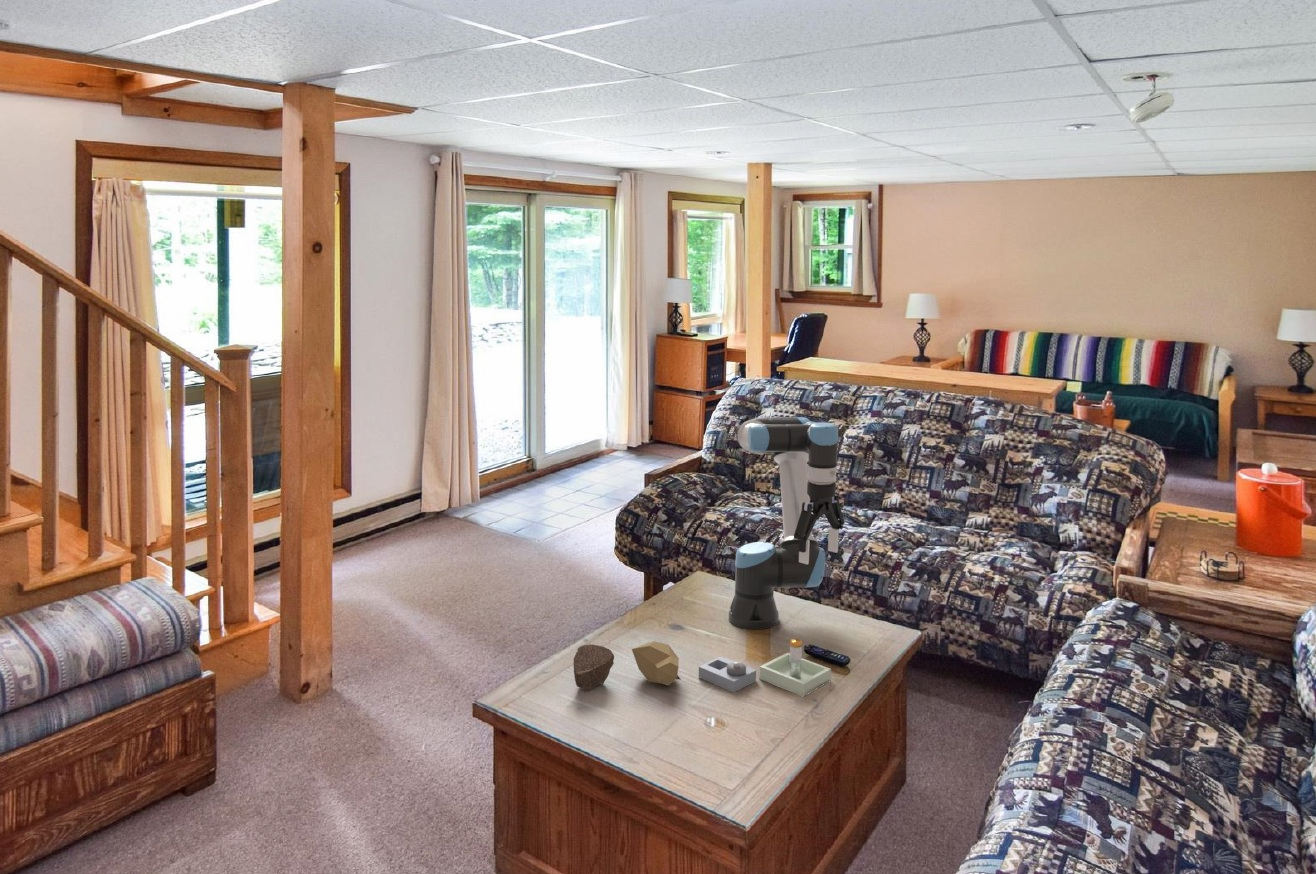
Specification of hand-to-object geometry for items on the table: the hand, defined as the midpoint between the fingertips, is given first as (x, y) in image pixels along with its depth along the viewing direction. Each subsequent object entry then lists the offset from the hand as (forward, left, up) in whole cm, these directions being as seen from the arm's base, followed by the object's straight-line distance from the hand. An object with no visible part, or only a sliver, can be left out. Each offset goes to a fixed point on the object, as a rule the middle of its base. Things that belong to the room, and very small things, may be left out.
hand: (818, 557), depth 254 cm
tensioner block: (-8, -28, -29) cm, 41 cm away
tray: (+5, -16, -29) cm, 33 cm away
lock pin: (+5, -16, -28) cm, 32 cm away
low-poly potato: (-19, -42, -29) cm, 54 cm away
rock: (-30, -56, -29) cm, 70 cm away
